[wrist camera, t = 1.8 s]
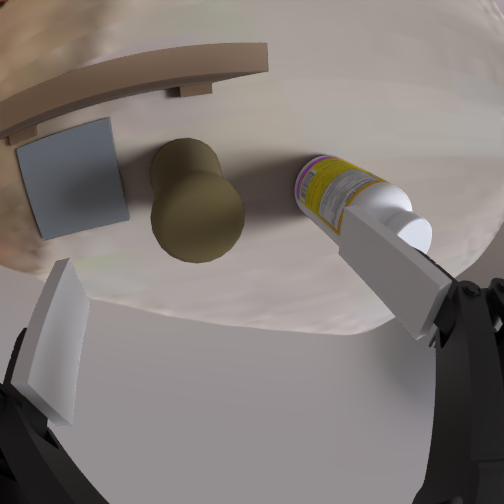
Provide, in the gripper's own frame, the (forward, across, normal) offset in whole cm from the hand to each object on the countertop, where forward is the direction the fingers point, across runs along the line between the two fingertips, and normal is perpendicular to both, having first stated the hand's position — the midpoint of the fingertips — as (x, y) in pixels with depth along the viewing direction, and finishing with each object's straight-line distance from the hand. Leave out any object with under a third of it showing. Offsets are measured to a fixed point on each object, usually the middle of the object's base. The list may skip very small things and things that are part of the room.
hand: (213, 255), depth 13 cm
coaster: (+13, -10, +2) cm, 17 cm away
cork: (+13, 0, 0) cm, 13 cm away
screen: (+13, -6, +8) cm, 17 cm away
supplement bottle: (+13, +13, -3) cm, 19 cm away
